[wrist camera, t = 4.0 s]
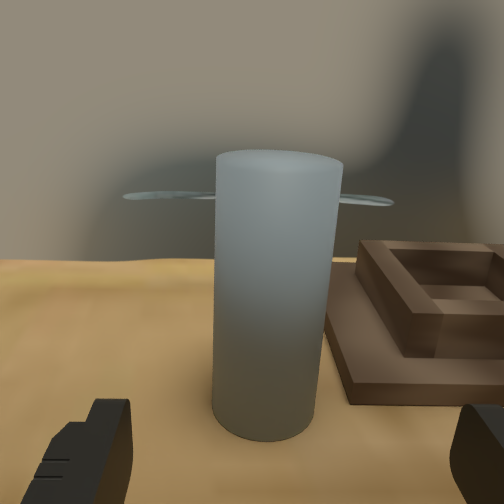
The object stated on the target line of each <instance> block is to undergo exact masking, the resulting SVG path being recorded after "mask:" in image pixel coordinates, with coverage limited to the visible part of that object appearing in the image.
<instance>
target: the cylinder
mask: <svg viewBox="0 0 504 504" xmlns="http://www.w3.org/2000/svg"><path fill="white" fill-rule="evenodd" d="M342 172H343V164H342V163H341V162H340V161H338V160H336V159H333V158H330V157H326V156H322V155H317V154H311V153H304V152H296V151H284V150H240V151H232V152H227V153H223V154H220V155H218V156H217V158H216V211H215V213H216V214H215V267H214V323H213V379H212V409H213V413H214V415H215V417H216V419H217V420H218V421H219V423H220V424H221V425H222V426H223V427H224V428H226V429H227V430H228V431H230V432H232V433H233V434H235V435H237V436H240V437H243V438H246V439H249V440H254V441H264V442H270V441H279V440H284V439H288V438H290V437H293V436H295V435H297V434H299V433H300V432H302V431H303V430H304V429H305V428H306V427H307V426H308V425H309V423H310V422H311V420H312V418H313V414H314V406H315V398H316V390H317V381H318V373H319V365H320V356H321V348H322V339H323V331H324V323H325V314H326V306H327V298H328V289H329V281H330V273H331V264H332V255H333V247H334V238H335V230H336V222H337V214H338V205H339V197H340V189H341V180H342Z"/></svg>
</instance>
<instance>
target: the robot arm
mask: <svg viewBox="0 0 504 504" xmlns="http://www.w3.org/2000/svg"><path fill="white" fill-rule="evenodd" d="M132 462H133V441H132V425H131V409H130V401H129V399H96V400H95V401H94V403H93V405H92V407H91V410H90V412H89V414H88V417H87V419H86V422H69V423H68V424H67V425H66V426H65V427H64V428H63V429H62V430H61V431H60V432H58V433H57V434H56V435H55V436H54V437H53V438H52V440H51V442H50V444H49V446H48V448H47V450H46V452H45V454H44V456H43V458H42V463H40V464H39V466H38V468H37V471H36V473H35V475H34V479H33V480H32V481H31V483H30V485H29V487H28V489H27V491H26V493H25V495H24V497H23V499H22V501H21V503H20V504H124V501H125V497H126V493H127V489H128V485H129V481H130V476H131V470H132ZM450 468H451V472H452V475H453V478H454V480H455V482H456V484H457V486H458V488H459V490H460V491H461V493H462V495H463V497H464V499H465V501H466V503H467V504H504V408H503V407H502V406H500V405H498V404H465V405H464V406H463V407H462V409H461V412H460V416H459V420H458V424H457V427H456V431H455V435H454V439H453V442H452V446H451V450H450Z"/></svg>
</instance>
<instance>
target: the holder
mask: <svg viewBox="0 0 504 504" xmlns="http://www.w3.org/2000/svg"><path fill="white" fill-rule="evenodd" d="M324 330H325V333H326V336H327V339H328V342H329V344H330V347H331V350H332V353H333V356H334V359H335V362H336V365H337V368H338V370H339V373H340V376H341V379H342V382H343V385H344V388H345V391H346V394H347V396H348V399H349V402H350V404H367V405H441V406H464V405H465V404H498V405H500V406H504V244H474V243H443V242H411V241H380V240H359V246H358V254H357V261H356V263H350V262H332V264H331V273H330V281H329V289H328V298H327V306H326V314H325V323H324Z"/></svg>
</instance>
